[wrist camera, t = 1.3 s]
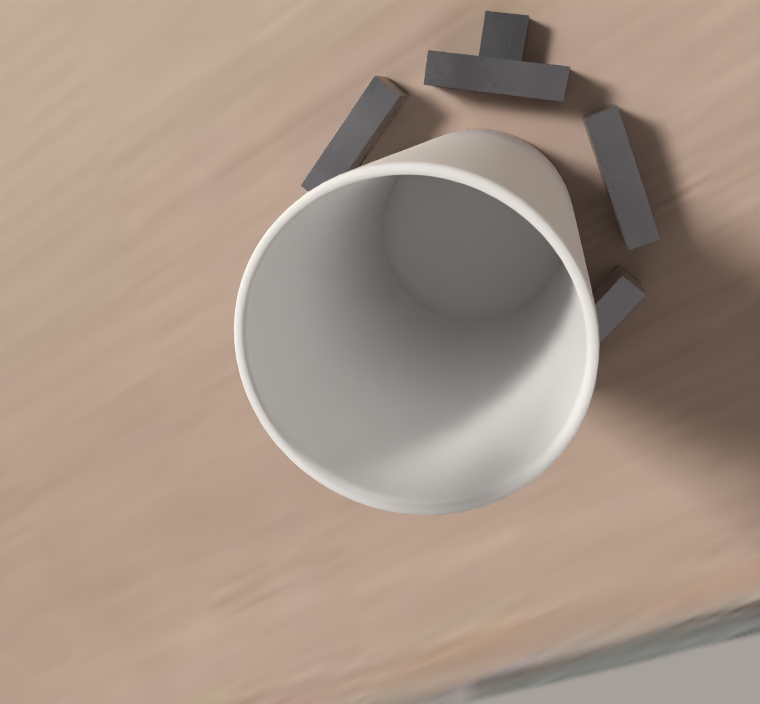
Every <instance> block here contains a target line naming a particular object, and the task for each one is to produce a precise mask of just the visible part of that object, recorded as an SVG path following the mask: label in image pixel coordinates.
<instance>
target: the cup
mask: <svg viewBox="0 0 760 704" xmlns="http://www.w3.org/2000/svg"><path fill="white" fill-rule="evenodd" d="M234 341H235V350H236V358H237V363H238V368H239V372H240V376H241V379H242V382H243V385H244V388H245V391H246V394H247V396H248V398H249V401H250V403H251V405H252V407H253V409H254V411H255V413H256V415H257V417H258V418H259V420H260V422H261V423H262V425H263V426H264V428H265V429H266V431H267V433H268V434H269V435H270V436H271V438H272V439H273V440H274V442H275V443H276V444H277V445H278V447H279V448H280V449H281V450H282V451H283V452H284V453H285V454H286V455H287V456H288V457H289V458H290V459H291V460H292V461H293V462H294V463H295V464H296V465H297V466H298V467H299V468H301V469H302V470H303V471H304V472H306V473H307V474H308V475H310V476H311V477H312V478H313V479H315V480H316V481H318V482H319V483H321V484H323V485H324V486H326V487H327V488H329V489H331V490H333V491H335V492H336V493H338V494H340V495H342V496H344V497H347V498H349V499H351V500H354V501H356V502H358V503H361V504H364V505H367V506H370V507H373V508H377V509H381V510H386V511H390V512H396V513H403V514H413V515H441V514H451V513H458V512H463V511H468V510H472V509H476V508H479V507H482V506H486V505H489V504H491V503H494V502H496V501H499V500H501V499H503V498H505V497H507V496H509V495H511V494H513V493H515V492H517V491H518V490H520V489H522V488H523V487H525V486H526V485H528V484H529V483H531V482H532V481H533V480H535V479H536V478H537V477H538V476H540V475H541V474H542V473H543V472H545V471H546V470H547V469H548V468H549V467H550V466H551V465H552V464H553V463H554V462H555V461H556V460H557V458H558V457H559V456H560V455H561V454H562V452H563V451H564V450H565V449H566V448H567V446H568V445H569V443H570V442H571V440H572V439H573V437H574V436H575V434H576V433H577V431H578V429H579V427H580V425H581V423H582V421H583V419H584V417H585V414H586V412H587V409H588V407H589V404H590V402H591V398H592V394H593V390H594V387H595V382H596V376H597V369H598V363H599V346H600V341H599V325H598V319H597V313H596V307H595V303H594V298H593V293H592V289H591V284H590V280H589V275H588V271H587V267H586V262H585V258H584V254H583V249H582V245H581V241H580V236H579V232H578V227H577V223H576V219H575V214H574V210H573V206H572V202H571V198H570V195H569V192H568V190H567V187H566V185H565V183H564V181H563V179H562V177H561V176H560V174H559V173H558V171H557V170H556V168H555V167H554V166H553V164H552V163H551V162H550V161H549V160H548V159H547V158H546V157H545V156H544V155H543V154H542V153H541V152H540V151H538V150H537V149H536V148H535V147H533V146H532V145H530V144H529V143H527V142H525V141H523V140H521V139H519V138H517V137H515V136H512V135H510V134H507V133H503V132H499V131H494V130H488V129H467V130H460V131H455V132H451V133H448V134H445V135H442V136H439V137H437V138H434V139H432V140H429V141H426V142H424V143H421V144H418V145H416V146H413V147H410V148H408V149H405V150H403V151H400V152H397V153H395V154H392V155H389V156H387V157H384V158H382V159H379V160H376V161H374V162H371V163H368V164H366V165H363V166H361V167H358V168H356V169H353V170H350V171H348V172H345V173H343V174H340V175H338V176H336V177H334V178H332V179H330V180H328V181H326V182H324V183H322V184H320V185H319V186H317V187H315V188H314V189H312V190H311V191H309V192H307V193H306V194H305V195H304V196H302V197H301V198H300V199H299V200H297V201H296V202H295V203H293V204H292V205H291V206H290V207H289V208H288V209H287V210H286V211H285V212H284V213H283V214H282V215H281V216H280V217H279V218H278V219H277V220H276V221H275V222H274V223H273V225H272V226H271V227H270V228H269V230H268V231H267V232H266V233H265V235H264V236H263V238H262V239H261V241H260V242H259V244H258V245H257V247H256V249H255V251H254V253H253V254H252V256H251V258H250V260H249V262H248V265H247V267H246V270H245V272H244V275H243V278H242V281H241V285H240V288H239V292H238V297H237V302H236V308H235V320H234Z"/></svg>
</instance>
